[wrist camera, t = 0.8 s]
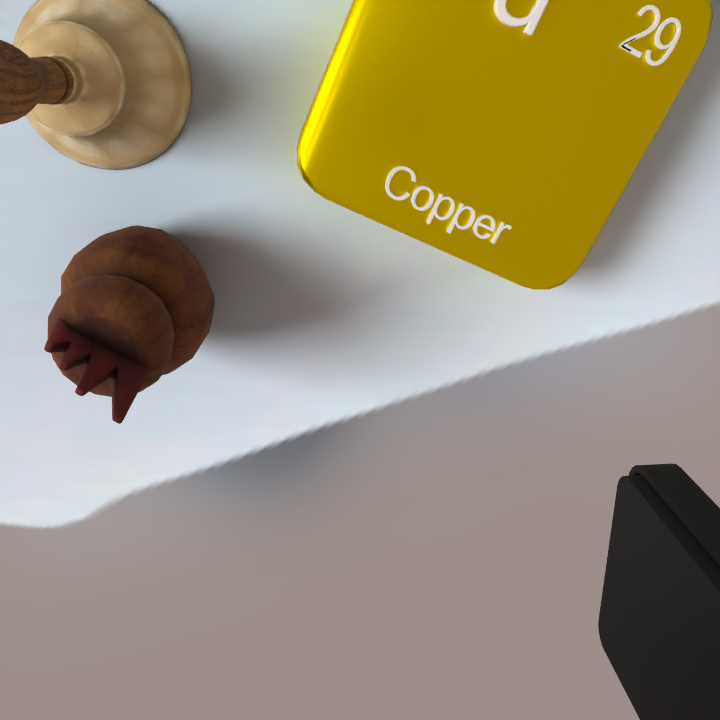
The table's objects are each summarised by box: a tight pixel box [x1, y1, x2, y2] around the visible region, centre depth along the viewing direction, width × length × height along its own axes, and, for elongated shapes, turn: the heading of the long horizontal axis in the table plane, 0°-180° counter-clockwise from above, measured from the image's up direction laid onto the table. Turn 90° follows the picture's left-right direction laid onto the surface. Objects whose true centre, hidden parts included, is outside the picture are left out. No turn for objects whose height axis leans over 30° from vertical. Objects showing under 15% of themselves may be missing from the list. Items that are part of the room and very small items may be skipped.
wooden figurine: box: [44, 226, 215, 424], centre depth 30 cm, size 7×6×15 cm
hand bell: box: [0, 0, 192, 170], centre depth 26 cm, size 8×8×16 cm
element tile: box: [297, 0, 713, 289], centre depth 32 cm, size 15×15×5 cm
